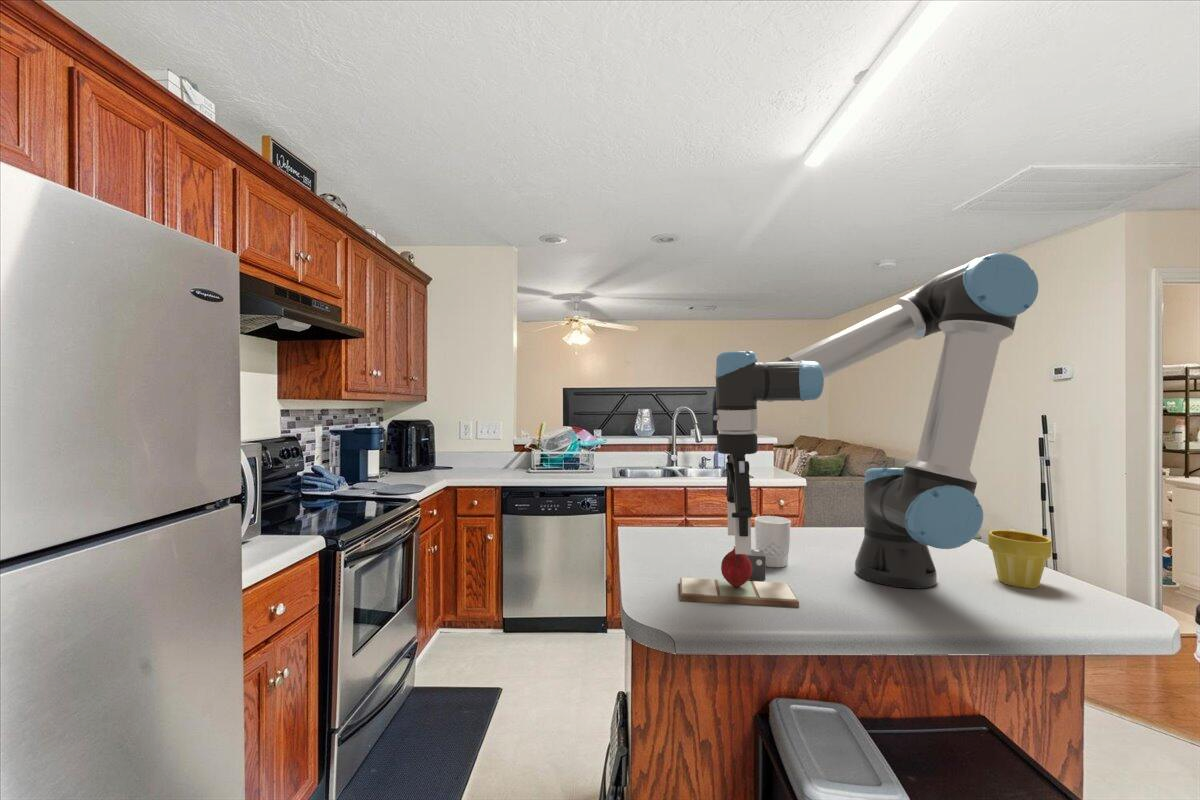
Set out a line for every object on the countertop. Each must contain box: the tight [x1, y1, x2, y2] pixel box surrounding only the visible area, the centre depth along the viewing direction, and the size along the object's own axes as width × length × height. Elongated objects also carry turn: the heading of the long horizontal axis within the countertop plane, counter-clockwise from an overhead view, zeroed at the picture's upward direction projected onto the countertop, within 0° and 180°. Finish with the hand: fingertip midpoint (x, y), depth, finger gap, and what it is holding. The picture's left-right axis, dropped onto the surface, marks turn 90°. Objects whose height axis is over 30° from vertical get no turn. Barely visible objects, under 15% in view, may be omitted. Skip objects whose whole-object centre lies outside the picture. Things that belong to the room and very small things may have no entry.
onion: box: [720, 545, 752, 588], centre depth 103 cm, size 6×6×8 cm
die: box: [746, 548, 767, 581], centre depth 115 cm, size 5×5×5 cm
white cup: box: [754, 515, 792, 568], centre depth 124 cm, size 8×8×10 cm
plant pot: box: [987, 529, 1053, 589], centre depth 111 cm, size 10×10×10 cm
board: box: [679, 577, 800, 608], centre depth 103 cm, size 21×10×1 cm, turn 82°
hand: (738, 543), depth 103 cm, fingers open, 13 cm apart
